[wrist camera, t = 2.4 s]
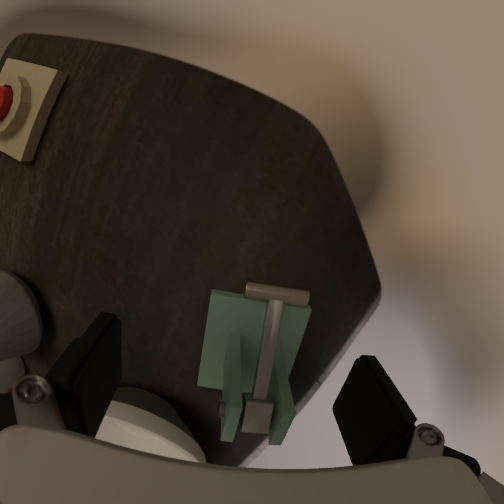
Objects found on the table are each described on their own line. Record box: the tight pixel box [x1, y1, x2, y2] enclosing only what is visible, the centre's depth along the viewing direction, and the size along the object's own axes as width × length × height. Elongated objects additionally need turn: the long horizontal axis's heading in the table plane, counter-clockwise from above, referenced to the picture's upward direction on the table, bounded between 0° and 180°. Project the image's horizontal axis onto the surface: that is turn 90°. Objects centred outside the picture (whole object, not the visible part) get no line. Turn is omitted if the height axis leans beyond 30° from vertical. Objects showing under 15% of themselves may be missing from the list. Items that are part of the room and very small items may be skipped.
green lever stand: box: [197, 289, 312, 445], centre depth 25 cm, size 12×10×12 cm
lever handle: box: [239, 279, 309, 434], centre depth 22 cm, size 12×5×2 cm, turn 168°
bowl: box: [95, 387, 206, 463], centre depth 29 cm, size 20×20×10 cm
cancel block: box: [0, 58, 68, 162], centre depth 20 cm, size 10×10×4 cm
